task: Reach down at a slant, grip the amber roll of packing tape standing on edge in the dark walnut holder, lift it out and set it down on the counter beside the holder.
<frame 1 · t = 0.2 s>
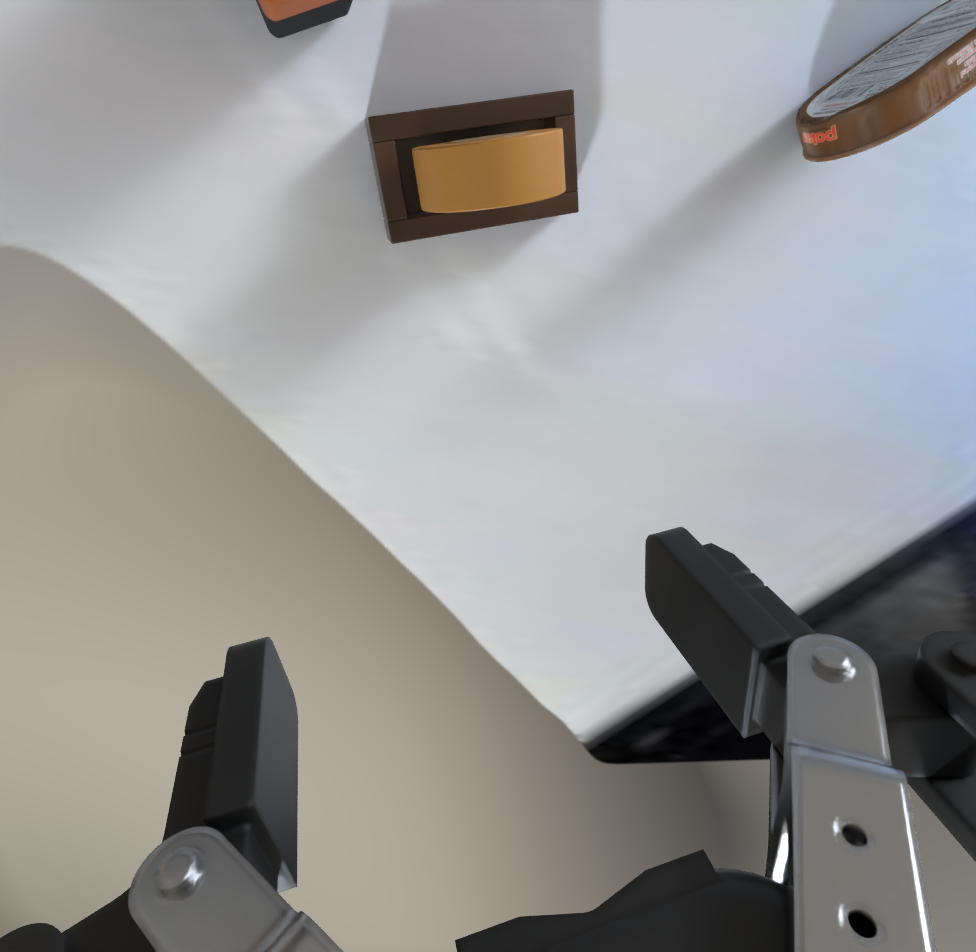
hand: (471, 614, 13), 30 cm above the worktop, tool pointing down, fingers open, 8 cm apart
tape holder: (472, 166, 37), on the worktop
tin: (865, 72, 40), on the worktop
tape roll: (489, 169, 33), in the tape holder
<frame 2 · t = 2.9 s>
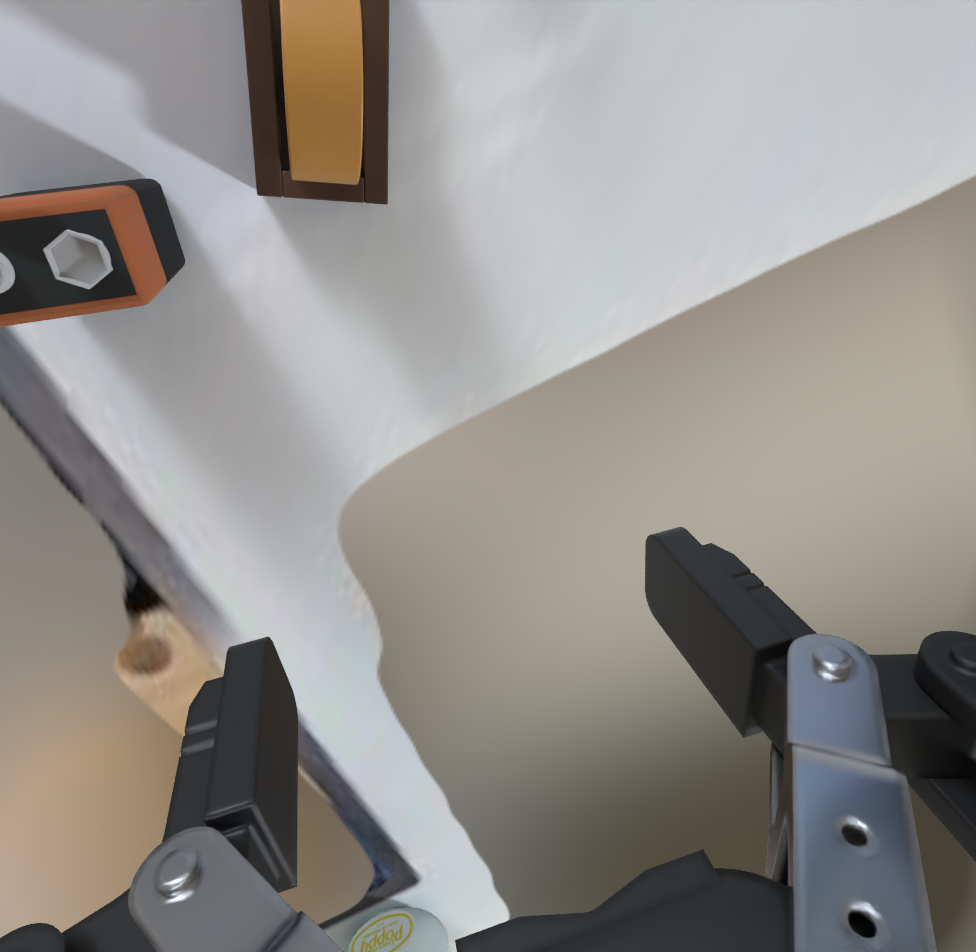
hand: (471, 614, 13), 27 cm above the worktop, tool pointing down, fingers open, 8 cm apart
tape holder: (318, 67, 30), on the worktop
air freshener: (392, 920, 67), on the worktop
tape roll: (321, 82, 27), resting in tape holder, tilted 13°
battery: (105, 231, 31), on the worktop
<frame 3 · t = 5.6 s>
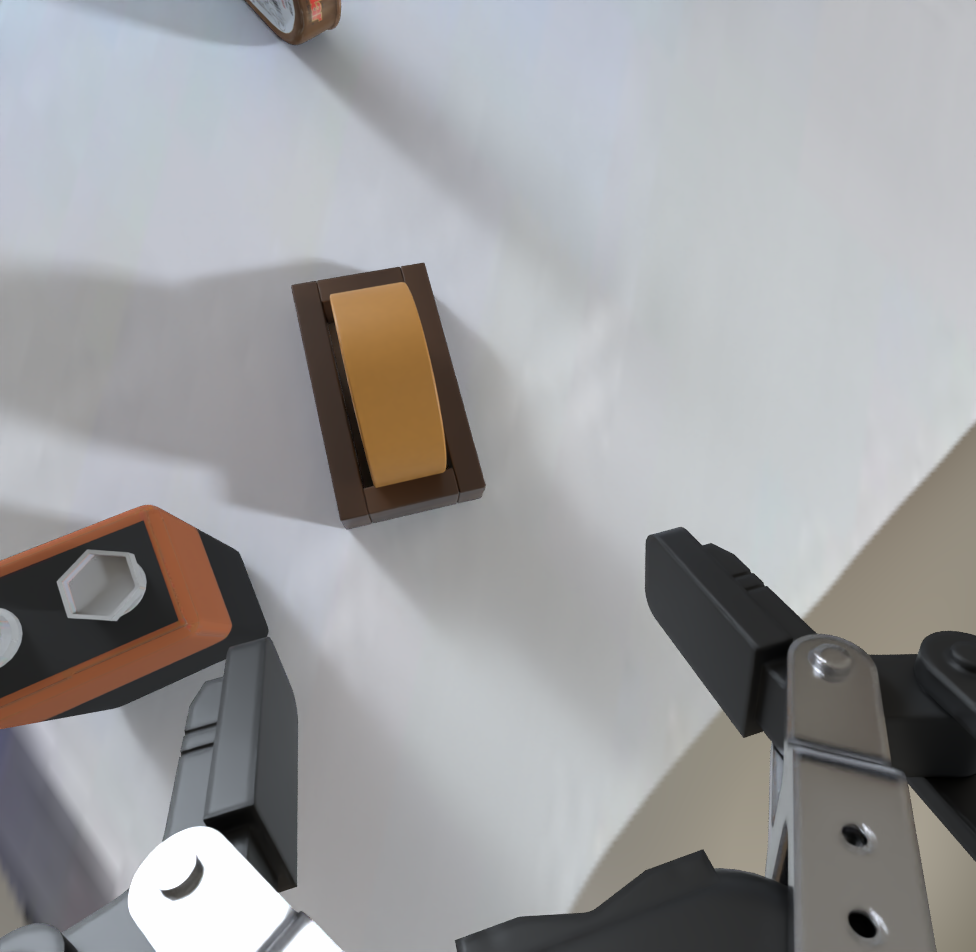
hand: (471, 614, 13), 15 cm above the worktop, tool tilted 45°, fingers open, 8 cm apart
tape holder: (387, 399, 30), on the worktop
tape roll: (388, 386, 26), resting in tape holder, tilted 16°
battery: (180, 625, 26), on the worktop
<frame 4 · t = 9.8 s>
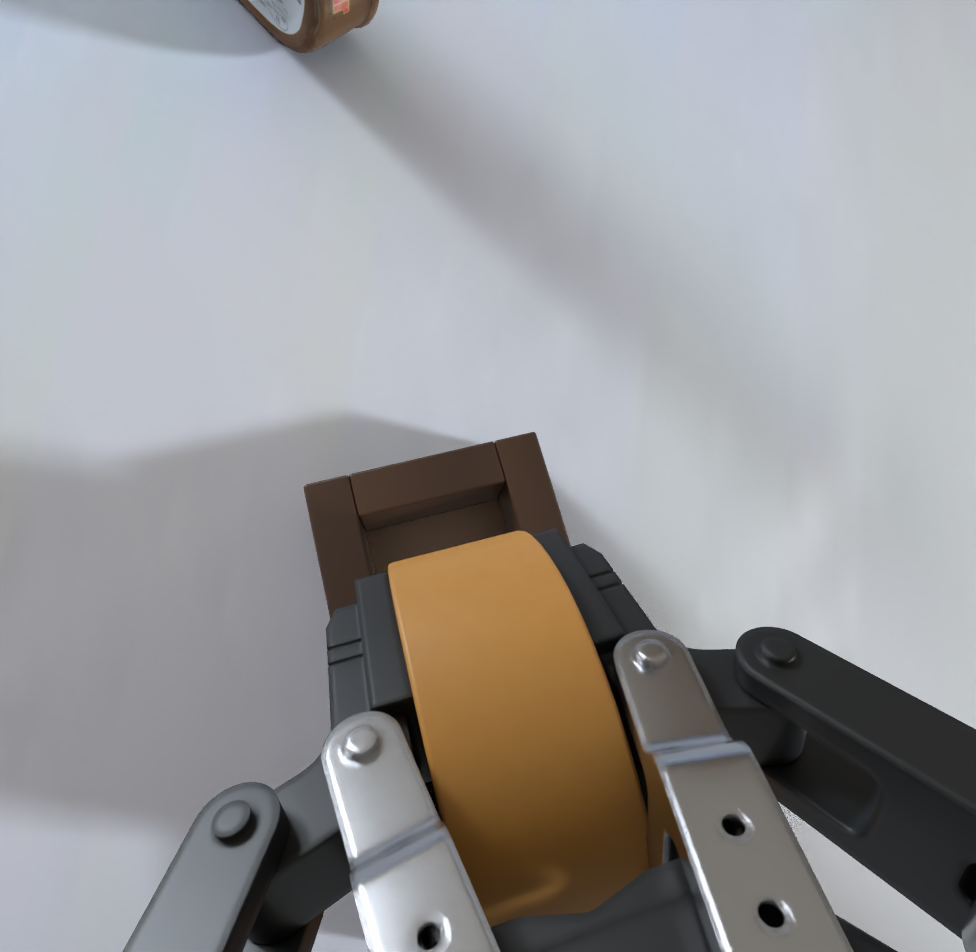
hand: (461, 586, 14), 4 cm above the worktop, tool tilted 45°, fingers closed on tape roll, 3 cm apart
tape holder: (473, 673, 17), on the worktop
tape roll: (501, 732, 13), resting in tape holder, tilted 16°, touching gripper
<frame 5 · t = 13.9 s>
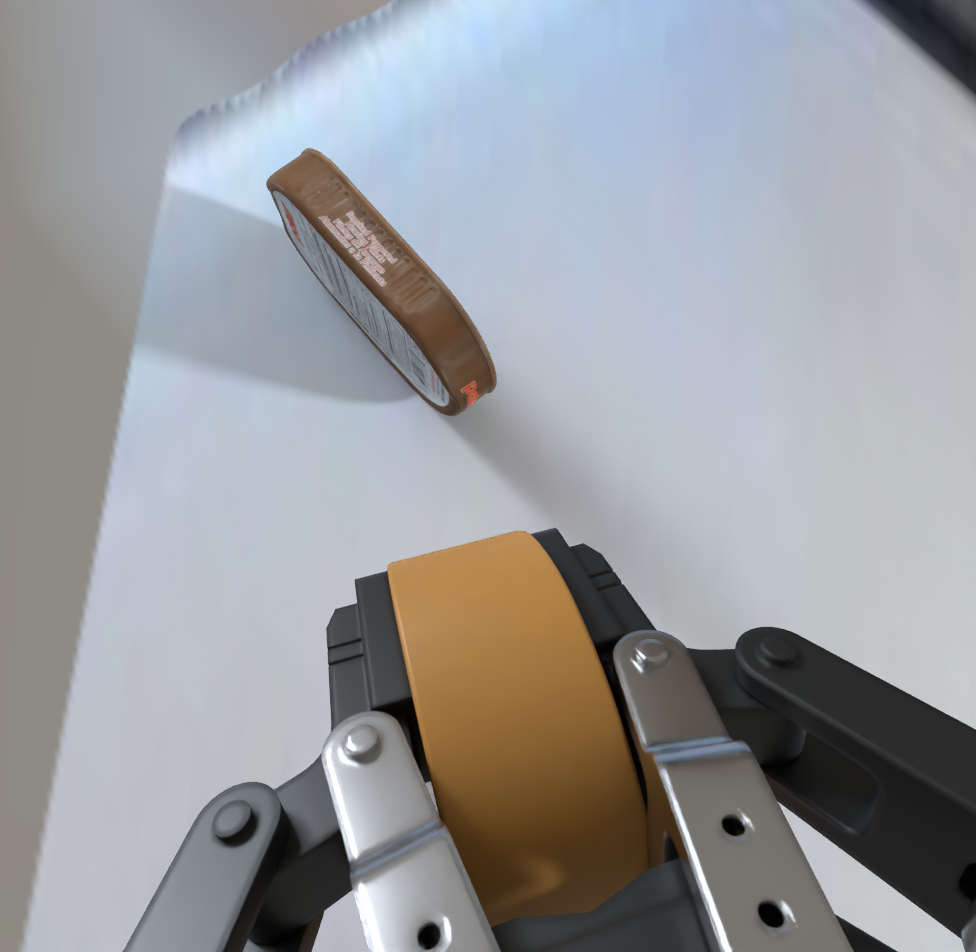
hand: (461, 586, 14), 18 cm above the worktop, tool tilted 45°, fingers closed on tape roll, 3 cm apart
tin: (384, 333, 35), on the worktop
tape roll: (501, 732, 13), point 18 cm above the worktop, tilted 16°, touching gripper
when the fingers open (4 cm above the worktop, at t = 18.3 s): tape roll stays where it is, on the worktop.
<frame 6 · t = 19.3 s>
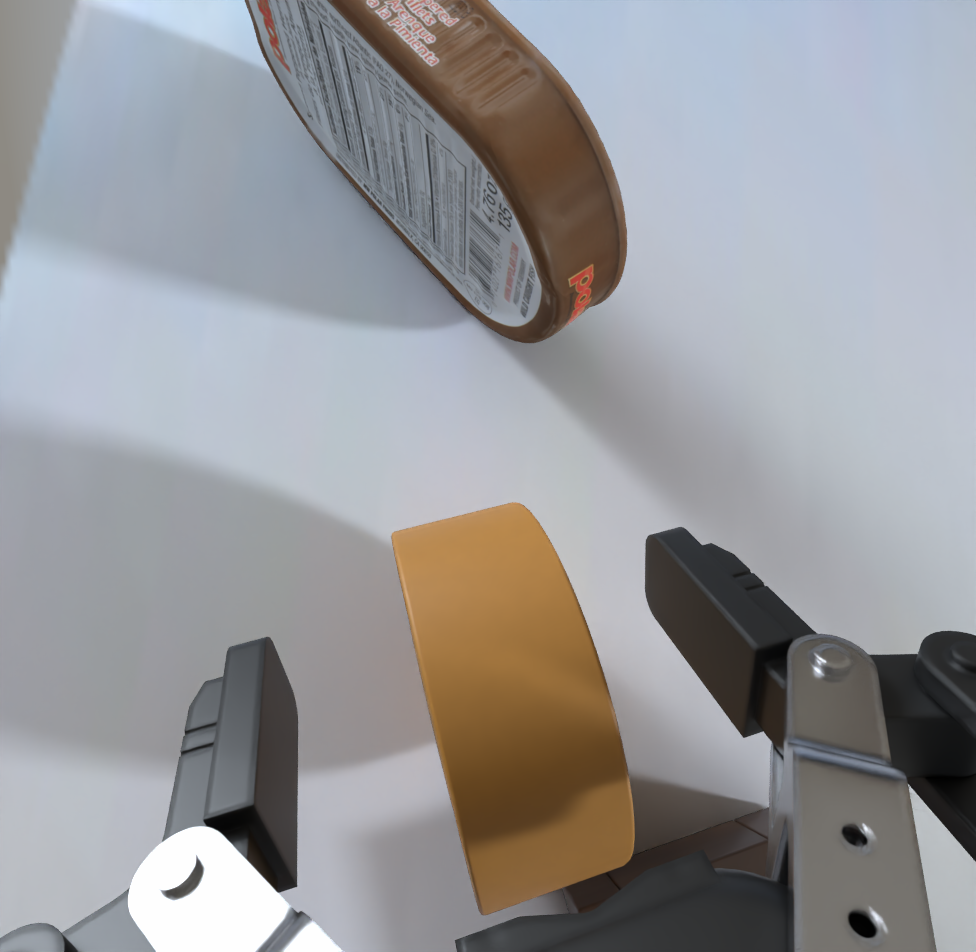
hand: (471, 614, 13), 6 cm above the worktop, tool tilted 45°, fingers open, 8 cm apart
tin: (417, 224, 22), on the worktop
tape roll: (496, 687, 14), on the worktop, tilted 10°
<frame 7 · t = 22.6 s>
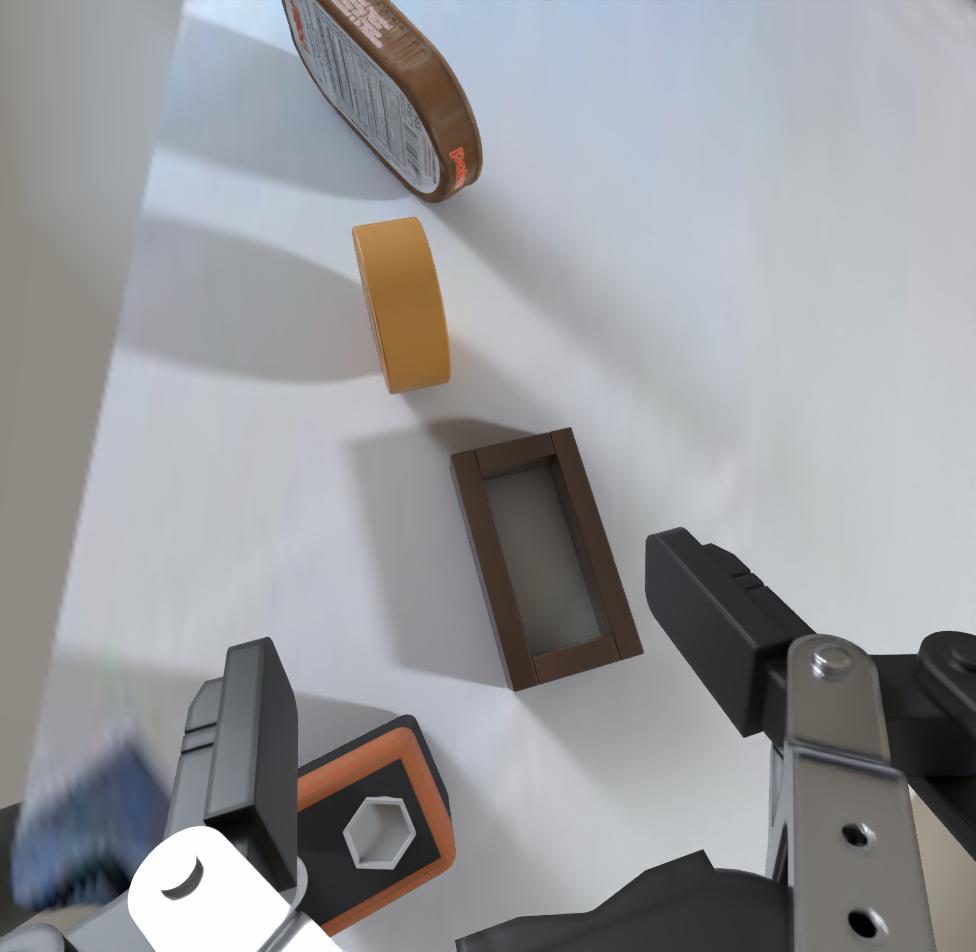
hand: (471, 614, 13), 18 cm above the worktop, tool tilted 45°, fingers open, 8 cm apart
tape holder: (537, 557, 32), on the worktop
tin: (382, 144, 38), on the worktop
tape roll: (401, 308, 30), on the worktop, tilted 15°
battery: (363, 789, 28), on the worktop
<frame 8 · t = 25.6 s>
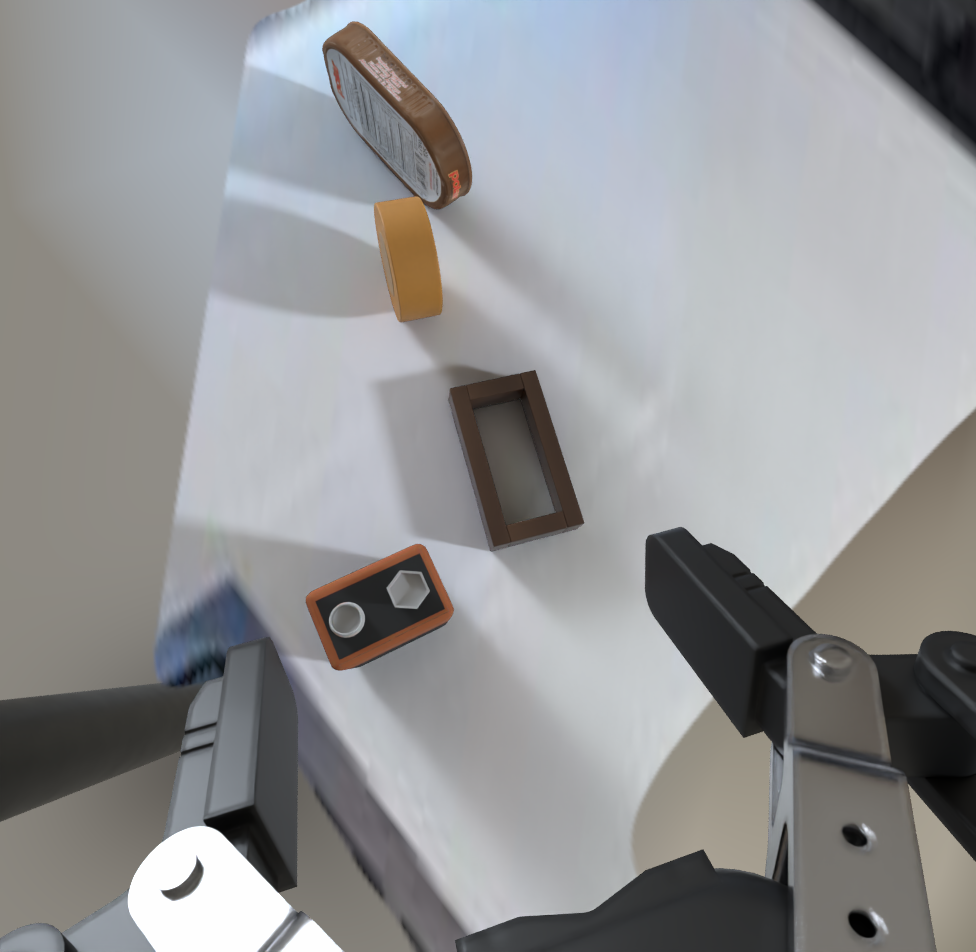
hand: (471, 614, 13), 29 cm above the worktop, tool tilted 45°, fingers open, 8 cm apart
tape holder: (511, 462, 44), on the worktop
tin: (397, 164, 51), on the worktop
tape roll: (408, 261, 43), on the worktop, tilted 43°
battery: (389, 615, 41), on the worktop
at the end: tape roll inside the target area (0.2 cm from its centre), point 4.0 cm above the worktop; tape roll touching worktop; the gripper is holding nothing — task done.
